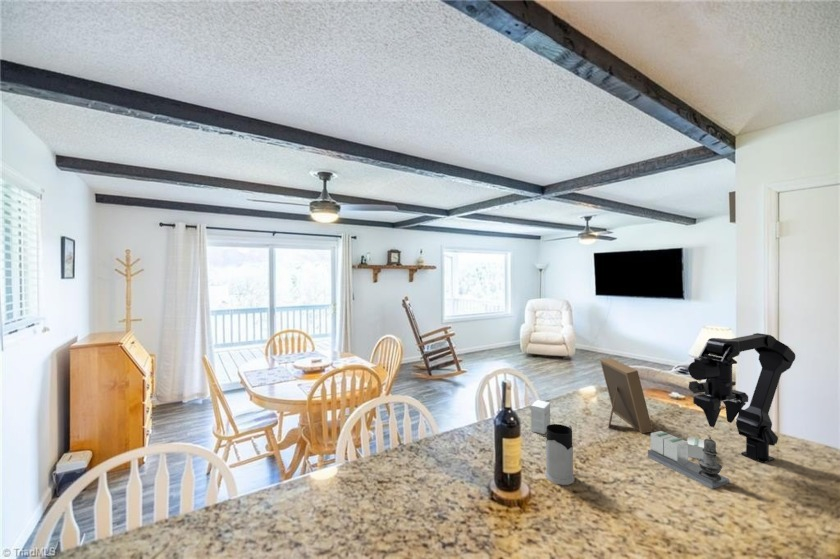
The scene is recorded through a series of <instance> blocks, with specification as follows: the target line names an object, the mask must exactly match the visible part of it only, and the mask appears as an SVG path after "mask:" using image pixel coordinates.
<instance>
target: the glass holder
mask: <svg viewBox="0 0 840 559" xmlns="http://www.w3.org/2000/svg"><path fill="white" fill-rule="evenodd" d="M545 440H546V441H545V461H546V462H545V472H544V477H545V478H546V480H548V481H550V482H551V483H554V484H558V485H563V486H565V485H572V484H573V483H574V482H575V476H574V447H573V446H574V445H573V427H572V425H570V424H567V425H563V424H559V423H558V424H557V423H553V424H551V423H550V425H548V426H547V432H546V439H545Z"/></svg>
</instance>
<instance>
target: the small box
mask: <svg viewBox="0 0 840 559" xmlns="http://www.w3.org/2000/svg"><path fill="white" fill-rule="evenodd" d="M548 425H551V402H548V401H544V400H539V399H537V400H535V401H534V402H533V403H532V404H531V405H530V430H531V432H534V433H537V434H542V435H545V434H547V426H548Z"/></svg>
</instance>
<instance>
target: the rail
mask: <svg viewBox="0 0 840 559" xmlns="http://www.w3.org/2000/svg"><path fill="white" fill-rule="evenodd" d="M647 457H648V458H649V459H651V460H653V461H655V462H657V463H659V464H660V465H663V466H665V467H667V468H669V469H672V470H673V471H675V472H678V473H679V474H681V475H683V476H685V477H687V478H689V479H691V480H692V481H696V482H698V483H700V484H701V485H703V486H706V487H707V486H708V487H707V488H710V489H711V488H712V489H711V490H713V489H716V488H719V487H722V486H725V485H727V484H730V478H729V477H726V476H724V475H722V474H720V473H718V475H719V476H720V477H721V479H720V480H712V479H710V478H708V477H706V476H704V475H702V474H699V471H701V470H702V469H701V468H700V466H699V464H697V463H695V462H693V461H691V460H689V457H688V442H687V440H684V439H682V438H681V437H677V436H674V435H672V434H669V433H668V432H666V431H665V432H664V431H662V430H659V431H655V432H651V433H650V449H647Z"/></svg>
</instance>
